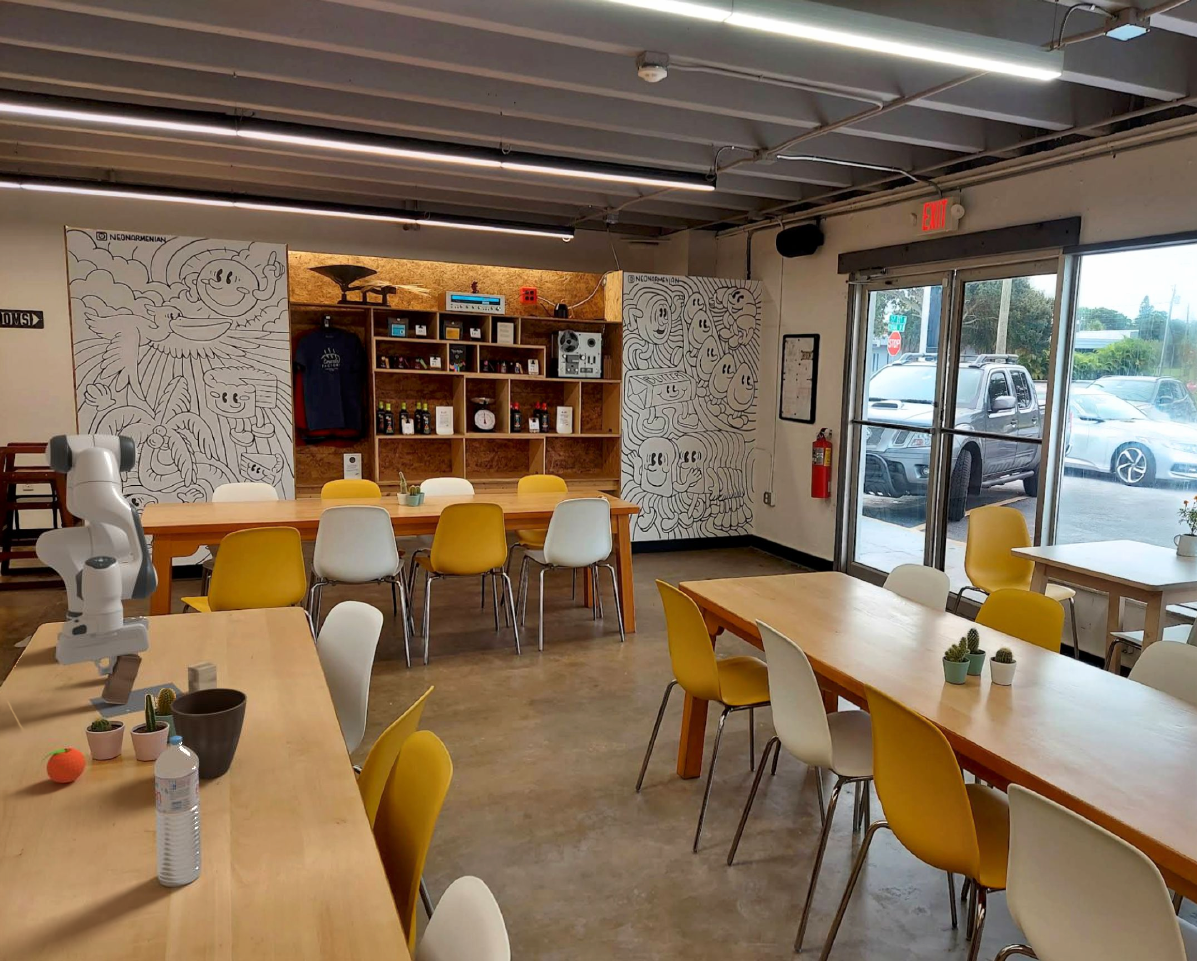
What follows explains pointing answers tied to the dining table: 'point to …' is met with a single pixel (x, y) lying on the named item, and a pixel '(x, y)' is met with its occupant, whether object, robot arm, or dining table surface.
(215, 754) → the plant pot
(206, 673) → the oak block
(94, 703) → the mat
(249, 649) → the dining table surface
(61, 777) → the clementine
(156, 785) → the water bottle
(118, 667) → the walnut block
